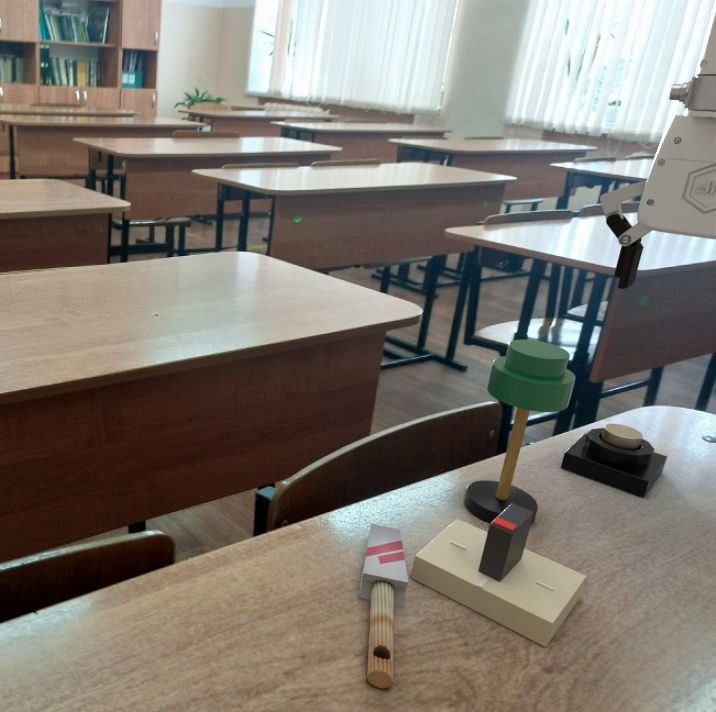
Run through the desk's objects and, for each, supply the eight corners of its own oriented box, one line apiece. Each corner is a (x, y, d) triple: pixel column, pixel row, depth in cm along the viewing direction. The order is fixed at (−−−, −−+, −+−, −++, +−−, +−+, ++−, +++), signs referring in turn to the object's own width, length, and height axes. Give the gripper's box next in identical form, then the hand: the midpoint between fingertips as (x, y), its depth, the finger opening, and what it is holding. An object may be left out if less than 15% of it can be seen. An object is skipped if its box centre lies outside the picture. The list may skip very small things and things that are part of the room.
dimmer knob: (499, 548, 68) (512, 500, 66) (521, 558, 67) (534, 509, 65) (477, 571, 65) (490, 521, 63) (500, 582, 64) (513, 531, 62)
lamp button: (642, 444, 88) (646, 431, 88) (633, 455, 85) (637, 441, 85) (605, 433, 91) (609, 420, 90) (596, 442, 88) (600, 429, 87)
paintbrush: (408, 518, 71) (408, 672, 54) (404, 541, 72) (401, 699, 55) (368, 510, 72) (354, 659, 55) (364, 532, 73) (349, 686, 56)
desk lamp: (547, 511, 80) (591, 351, 73) (521, 538, 75) (566, 369, 68) (478, 483, 85) (514, 331, 78) (449, 507, 80) (485, 346, 73)
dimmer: (580, 598, 66) (587, 573, 65) (545, 648, 60) (552, 622, 59) (452, 539, 74) (457, 516, 73) (409, 578, 68) (414, 554, 67)
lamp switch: (662, 472, 90) (671, 443, 88) (643, 498, 83) (653, 467, 82) (583, 445, 95) (590, 417, 94) (560, 467, 89) (568, 438, 88)
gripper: (615, 96, 64) (570, 285, 70) (880, 105, 53) (800, 328, 59) (635, 96, 69) (592, 272, 75) (882, 105, 58) (808, 310, 64)
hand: (684, 297), depth 67 cm, fingers open, 9 cm apart
